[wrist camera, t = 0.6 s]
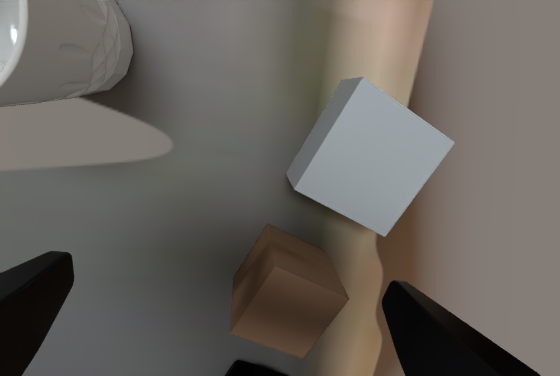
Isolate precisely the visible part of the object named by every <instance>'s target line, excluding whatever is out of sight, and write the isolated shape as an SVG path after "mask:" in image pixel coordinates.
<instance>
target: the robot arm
mask: <svg viewBox="0 0 560 376" xmlns="http://www.w3.org/2000/svg"><path fill="white" fill-rule="evenodd" d="M73 283H74V271H73V261H72V256H71V254H70V253H68V252H59V251H50V252H47V253H45V254H42V255H40V256H38V257H36V258H33V259H31V260H29V261H27V262H24V263H22V264H20V265H18V266H15V267H13V268H11V269H9V270H7V271H4V272H2V273H0V376H22V374H23V373H24V371H25V370H26V368H27V367H28V365H29V364H30V362H31V361H32V359H33V357H34V356H35V354H36V353H37V351H38V350H39V348H40V346H41V344H42V343H43V341H44V339H45V337H46V335H47V333H48V331H49V330H50V328H51V326H52V324H53V322H54V320H55V318H56V316H57V315H58V313H59V311H60V309H61V307H62V305H63V303H64V301H65V299H66V298H67V296H68V294H69V292H70V290H71V288H72V286H73ZM382 308H383V311H384V314H385V317H386V321H387V324H388V327H389V330H390V333H391V337H392V340H393V343H394V347H395V349H396V352H397V355H398V358H399V361H400V363H401V366H402V368H403V371H404V373H405V376H540V375H539V374H538V373H537V372H535V371H534V370H533V369H531V368H530V367H528V366H527V365H526V364H524V363H523V362H521V361H520V360H518V359H517V358H515V357H514V356H513V355H511V354H510V353H508V352H507V351H505V350H504V349H502V348H501V347H500V346H498V345H497V344H495V343H494V342H492V341H491V340H490V339H488V338H487V337H485V336H484V335H482V334H481V333H479V332H478V331H477V330H475V329H474V328H472V327H471V326H469V325H468V324H467V323H465V322H463V321H462V320H461V319H459V318H458V317H456V316H455V315H454V314H452V313H451V312H449V311H448V310H446V309H445V308H444V307H442V306H441V305H439V304H438V303H436V302H435V301H433V300H432V299H430V298H429V297H427V296H426V295H425V294H423V293H422V292H420V291H419V290H418V289H416V288H415V287H413V286H412V285H410V284H409V283H408V282H405V281H399V280H393V281H391V283H390V284H389V286H388V288H387V290H386V292H385V294H384V297H383V299H382ZM225 376H286V375H283V374H280V373H277V372H274V371H271V370H267V369H264V368H261V367H258V366H255V365H252V364H248V363H245V362H242V361H236V362H235V363H234V364H233V365H232V367H231V368H230V370H229V371H228V373H227V374H226V375H225Z"/></svg>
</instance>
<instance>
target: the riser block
mask: <svg viewBox="0 0 560 376" xmlns="http://www.w3.org/2000/svg"><path fill="white" fill-rule="evenodd" d="M454 143H455V142H453V141H452V140H450V139H449V138H448V137H446V136H445V135H444V134H442V133H441V132H439V131H438V130H437V129H435V128H434V127H433V126H431V125H430V124H428V123H427V122H425V121H424V120H423V119H421V118H420V117H419V116H417V115H416V114H414V113H413V112H411V111H410V110H409V109H407V108H406V107H405V106H403V105H402V104H400V103H399V102H398V101H396V100H395V99H393V98H392V97H391V96H389V95H388V94H386V93H385V92H384V91H382V90H381V89H379V88H378V87H377V86H375V85H374V84H372V83H371V82H370V81H368V80H367V79H365V78H364V77H359V78H352V79H345V80H341V82H340V84H339V85H338V87H337V89H336V90H335V92H334V94H333V95H332V97H331V99H330V101H329V102H328V104H327V106H326V107H325V109H324V111H323V112H322V114H321V116H320V117H319V119H318V121H317V122H316V124H315V126H314V127H313V129H312V131H311V132H310V134H309V136H308V137H307V139H306V141H305V142H304V144H303V146H302V147H301V149H300V151H299V152H298V154H297V156H296V157H295V159H294V161H293V163H292V164H291V166H290V168H289V169H288V171H287V173H286V175H287V177H288V179H289V181H290V183H291V185H292V187H293V188H294V190H296V191H298V192H300V193H302V194H304V195H306V196H308V197H309V198H311V199H313V200H315V201H317V202H319V203H321V204H323V205H325V206H327V207H329V208H331V209H332V210H334V211H336V212H338V213H340V214H342V215H344V216H346V217H348V218H350V219H352V220H354V221H355V222H357V223H359V224H361V225H363V226H365V227H367V228H369V229H371V230H373V231H375V232H377V233H378V234H380V235H382V236H384V237H385V236H386V235H387V233H388V232H389V231H390V229H391V228H392V227H393V225H394V224H395V223H396V221H397V220H398V219H399V217H400V216H401V215H402V213H403V212H404V210H405V209H406V208H407V206H408V205H409V204H410V202H411V201H412V200H413V198H414V197H415V196H416V194H417V193H418V192H419V190H420V189H421V188H422V186H423V185H424V184H425V182H426V181H427V179H428V178H429V177H430V175H431V174H432V173H433V171H434V170H435V169H436V167H437V166H438V165H439V163H440V162H441V161H442V159H443V158H444V157H445V155H446V154H447V153H448V151H449V150H450V149H451V147H452V146H453V144H454Z"/></svg>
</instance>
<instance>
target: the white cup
mask: <svg viewBox="0 0 560 376" xmlns="http://www.w3.org/2000/svg"><path fill="white" fill-rule="evenodd" d="M132 55H133V45H132V39H131V32H130V26H129V23H128V22H127V20H126V18H125V16H124V15H123V13H122V11H121V10H120V8H119V6H118V5H117V3H116V1H115V0H0V107H5V106H15V105H25V104H35V103H41V102H46V101H54V100H61V99H70V98H76V97H79V96H84V95H90V94H94V93H98V92H103V91H107V90H110V89H111V88H112V87H113V86H115V85H116V84H117V83H118V82H119V81H120V80H121V79H122V78H123V77H124V76H125V75H126V74H127V71H128V68H129V65H130V61H131V58H132Z"/></svg>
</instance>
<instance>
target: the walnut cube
mask: <svg viewBox="0 0 560 376" xmlns="http://www.w3.org/2000/svg"><path fill="white" fill-rule="evenodd" d="M348 300H349V297H348V295H347V293H346V291H345V289H344V287H343V285H342V283H341V282H340V280H339V278H338V276H337V274H336V272H335V270H334V268H333V266H332V264H331V262H330V260H329V258H328V256H327V254H326V252H325V251H323V250H321V249H319V248H317V247H315V246H313V245H311V244H309V243H307V242H304V241H302V240H300V239H298V238H296V237H294V236H292V235H290V234H288V233H286V232H284V231H282V230H280V229H278V228H276V227H274V226H272V225H270V224H267V225H266V227H265V228H264V230H263V232H262V233H261V235H260V236H259V238H258V240H257V241H256V243H255V244H254V246H253V247H252V249H251V251H250V252H249V254H248V255H247V257H246V259H245V260H244V262H243V263H242V265H241V266H240V268H239V270H238V271H237V273H236V274H235V276H234V278H233V292H232V308H231V324H230V334H233V335H236V336H238V337H241V338H244V339H247V340H250V341H253V342H256V343H259V344H262V345H265V346H268V347H270V348H273V349H276V350H279V351H282V352H285V353H288V354H291V355H294V356H297V357H300V358H302V359H303V358H304V357H305V355H306V354H307V353H308V351H309V350H310V349H311V348H312V346H313V345H314V344H315V342H316V341H317V340H318V339H319V337H320V336H321V335H322V333H323V332H324V331H325V330H326V328H327V327H328V326H329V324H330V323H331V322H332V321H333V319H334V318H335V317H336V315H337V314H338V313H339V312H340V310H341V309H342V308H343V306H344V305H345V304H346V302H347V301H348Z"/></svg>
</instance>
